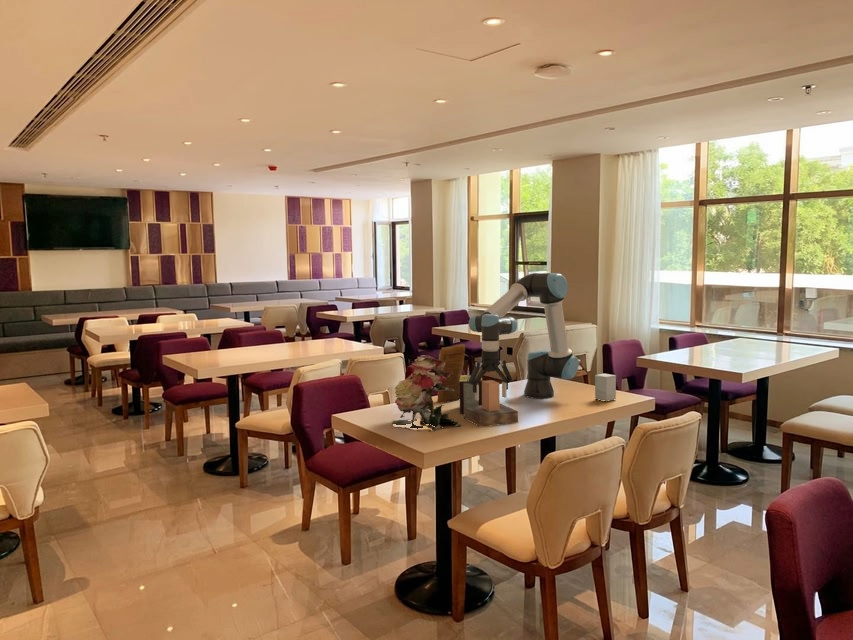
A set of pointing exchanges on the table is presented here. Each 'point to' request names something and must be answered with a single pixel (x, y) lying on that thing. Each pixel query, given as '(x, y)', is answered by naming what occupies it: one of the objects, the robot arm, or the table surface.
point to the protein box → (468, 393)
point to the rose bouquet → (423, 392)
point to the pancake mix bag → (454, 364)
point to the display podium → (490, 415)
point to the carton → (490, 395)
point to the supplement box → (605, 387)
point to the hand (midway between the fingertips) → (490, 398)
